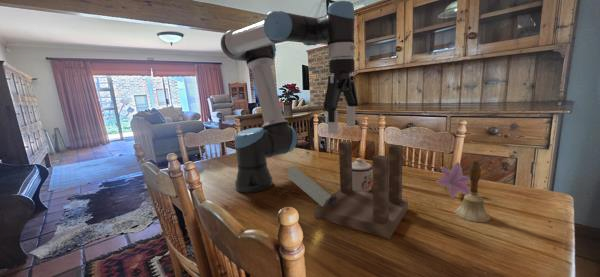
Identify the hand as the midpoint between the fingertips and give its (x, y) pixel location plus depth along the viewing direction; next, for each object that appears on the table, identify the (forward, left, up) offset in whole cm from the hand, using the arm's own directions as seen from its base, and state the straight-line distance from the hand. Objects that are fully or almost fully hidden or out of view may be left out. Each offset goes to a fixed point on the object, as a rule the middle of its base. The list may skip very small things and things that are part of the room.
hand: (342, 129), depth 80 cm
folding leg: (0, -11, -20) cm, 23 cm away
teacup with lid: (0, +14, -25) cm, 29 cm away
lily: (+29, +23, -25) cm, 45 cm away
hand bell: (+35, +9, -25) cm, 44 cm away
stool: (+8, -5, -25) cm, 26 cm away
